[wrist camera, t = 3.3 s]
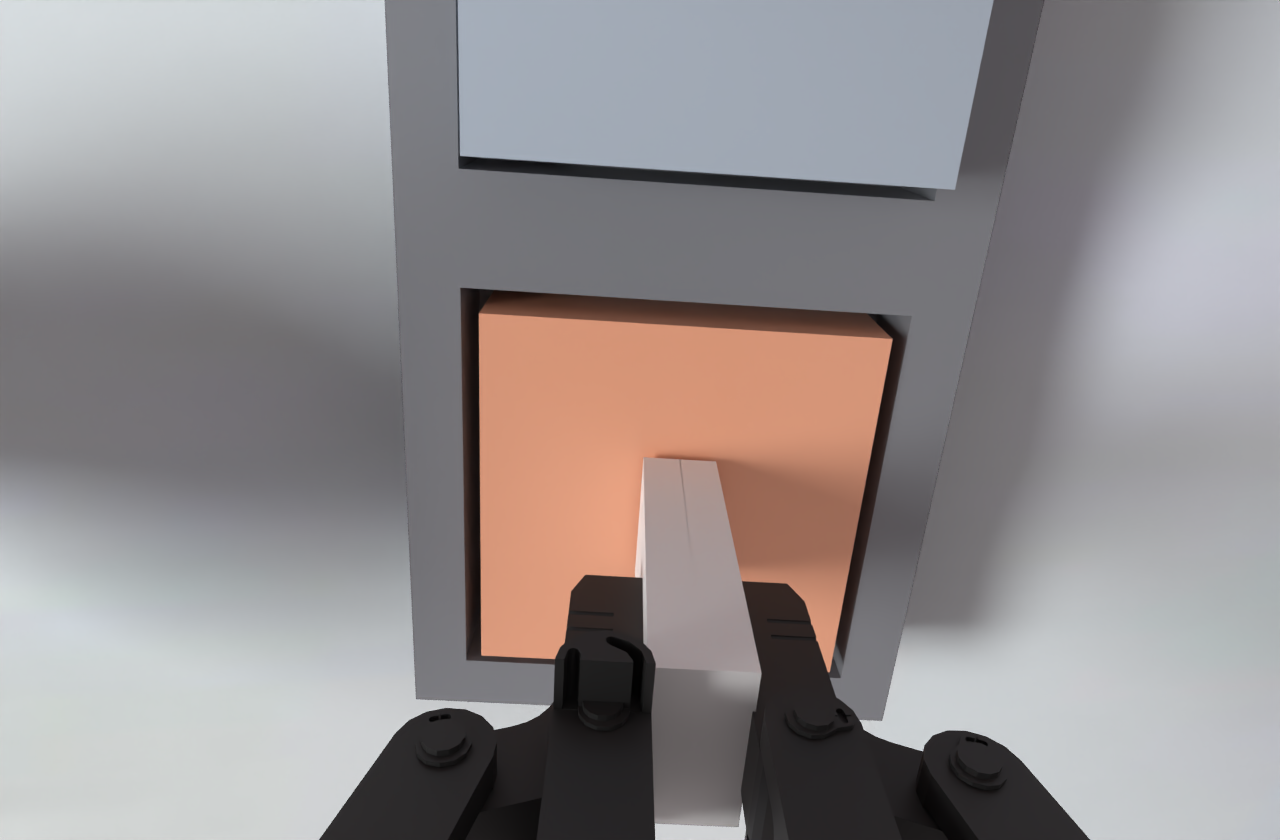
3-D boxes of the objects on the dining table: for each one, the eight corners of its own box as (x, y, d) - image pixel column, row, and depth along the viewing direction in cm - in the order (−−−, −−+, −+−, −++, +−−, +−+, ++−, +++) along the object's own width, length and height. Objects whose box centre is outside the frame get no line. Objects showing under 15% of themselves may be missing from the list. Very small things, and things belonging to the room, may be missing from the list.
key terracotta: (496, 286, 18) (479, 313, 16) (863, 310, 18) (892, 339, 16) (496, 599, 21) (481, 655, 19) (810, 615, 21) (829, 672, 19)
